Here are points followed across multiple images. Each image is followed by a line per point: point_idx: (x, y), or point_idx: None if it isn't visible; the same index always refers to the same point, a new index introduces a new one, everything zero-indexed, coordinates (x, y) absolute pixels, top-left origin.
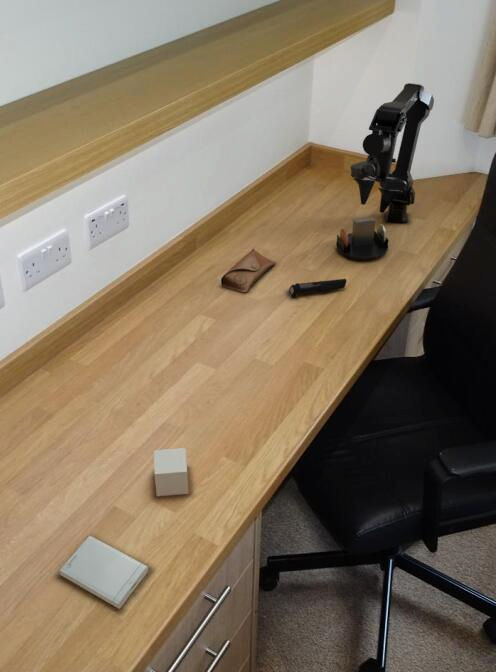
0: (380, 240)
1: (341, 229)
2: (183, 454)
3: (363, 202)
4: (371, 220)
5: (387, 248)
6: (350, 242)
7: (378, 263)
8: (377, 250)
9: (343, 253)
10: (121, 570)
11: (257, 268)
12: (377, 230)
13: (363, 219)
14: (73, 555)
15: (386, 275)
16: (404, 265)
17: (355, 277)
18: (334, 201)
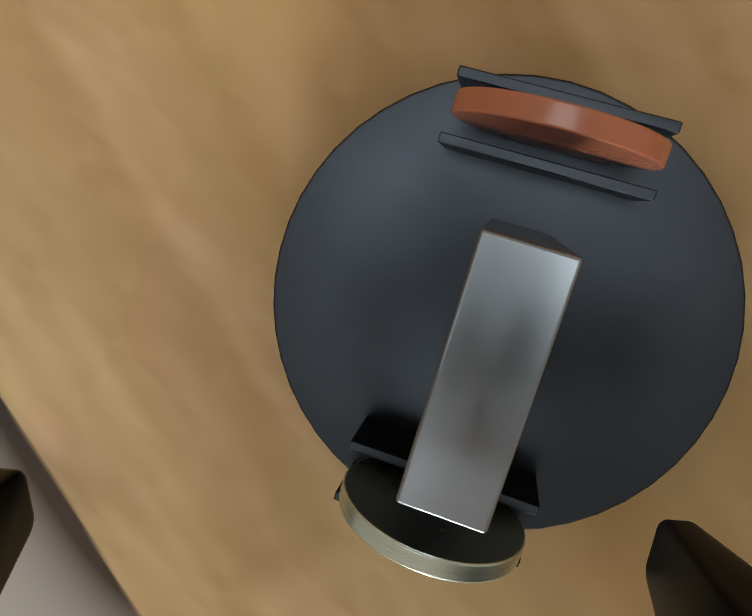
0: (380, 445)
1: (649, 130)
2: None
3: (671, 571)
4: (414, 451)
5: (334, 451)
6: (582, 250)
7: (263, 290)
8: (345, 363)
9: (458, 80)
10: None
11: None
12: (511, 528)
13: (497, 381)
14: None
15: (110, 234)
16: (165, 426)
17: (174, 9)
18: None
